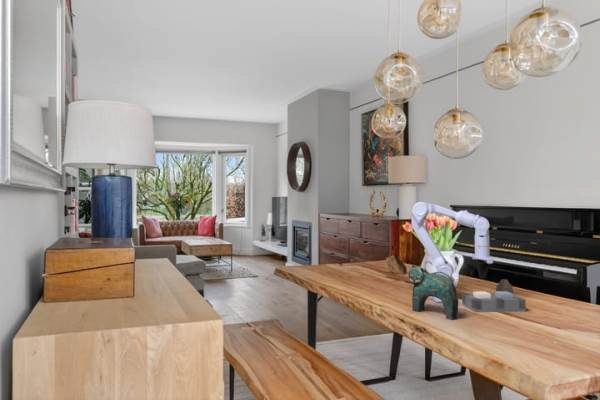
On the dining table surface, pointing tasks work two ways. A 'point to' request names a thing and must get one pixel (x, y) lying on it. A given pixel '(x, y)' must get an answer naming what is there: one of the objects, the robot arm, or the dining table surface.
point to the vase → (504, 286)
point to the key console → (494, 303)
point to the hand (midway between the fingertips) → (482, 278)
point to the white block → (481, 295)
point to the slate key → (503, 294)
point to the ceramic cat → (433, 290)
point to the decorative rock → (395, 265)
